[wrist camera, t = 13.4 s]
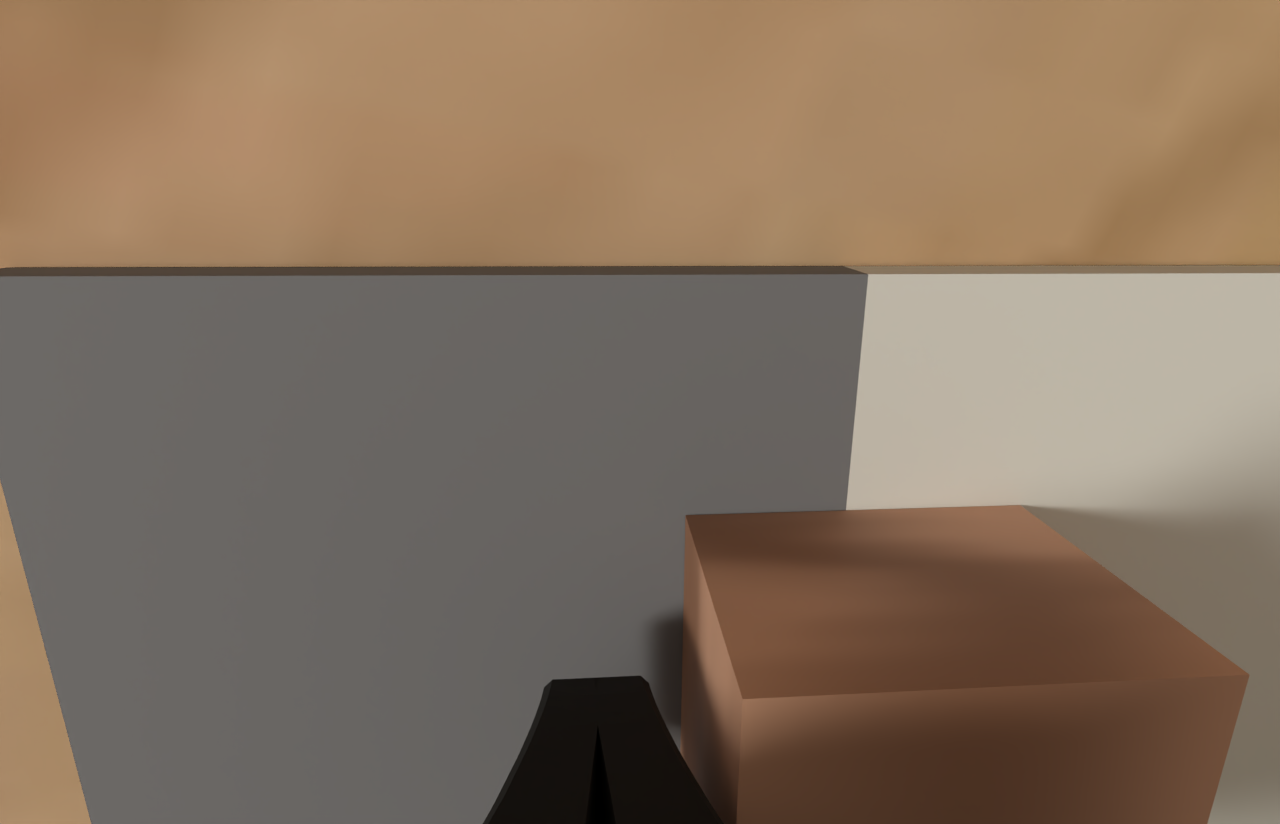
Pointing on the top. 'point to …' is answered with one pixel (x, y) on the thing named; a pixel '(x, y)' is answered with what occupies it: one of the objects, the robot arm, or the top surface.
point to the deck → (571, 491)
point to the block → (939, 675)
